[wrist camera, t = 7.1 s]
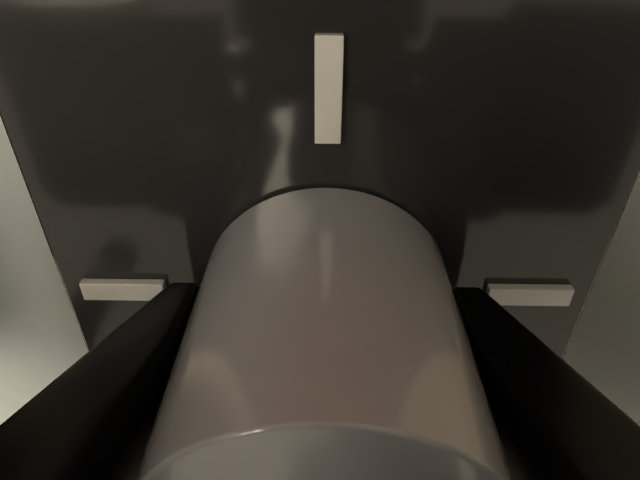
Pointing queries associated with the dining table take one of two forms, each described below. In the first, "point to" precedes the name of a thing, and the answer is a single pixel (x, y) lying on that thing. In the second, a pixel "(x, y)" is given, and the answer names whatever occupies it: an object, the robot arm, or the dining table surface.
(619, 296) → the dining table surface
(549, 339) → the hob
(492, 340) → the robot arm
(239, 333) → the knob
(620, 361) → the dining table surface
